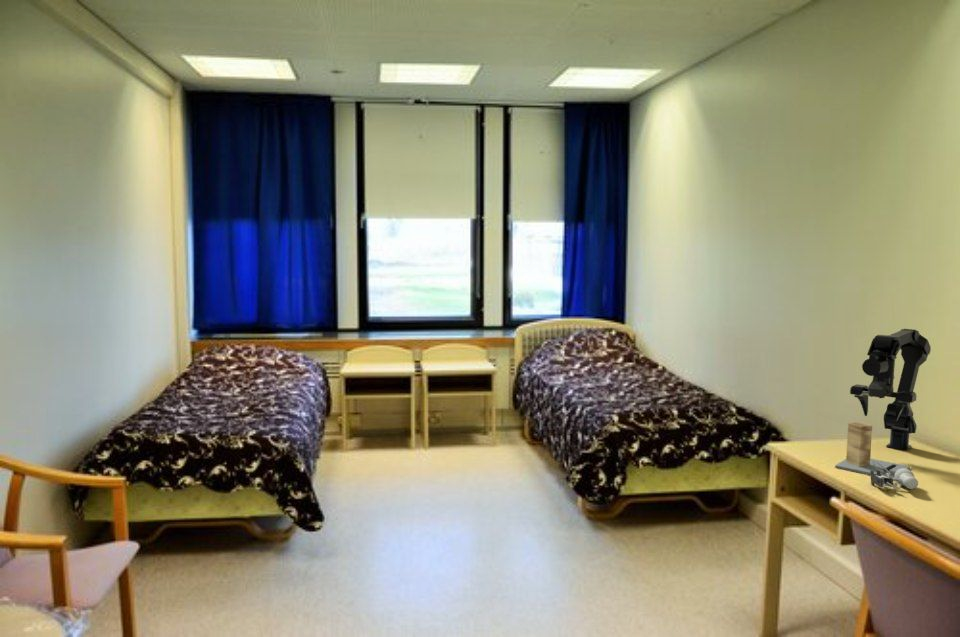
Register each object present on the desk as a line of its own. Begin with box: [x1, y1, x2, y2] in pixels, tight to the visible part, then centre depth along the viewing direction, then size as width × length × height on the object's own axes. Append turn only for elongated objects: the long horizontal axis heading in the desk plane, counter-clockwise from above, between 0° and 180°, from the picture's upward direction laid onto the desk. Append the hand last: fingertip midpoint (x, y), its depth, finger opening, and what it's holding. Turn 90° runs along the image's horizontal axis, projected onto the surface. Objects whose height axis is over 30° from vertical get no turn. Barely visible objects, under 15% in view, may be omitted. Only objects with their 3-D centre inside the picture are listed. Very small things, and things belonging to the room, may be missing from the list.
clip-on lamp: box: [870, 460, 919, 491], centre depth 208 cm, size 12×6×18 cm
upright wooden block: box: [845, 421, 873, 467], centre depth 224 cm, size 5×5×13 cm
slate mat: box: [834, 457, 911, 478], centre depth 223 cm, size 16×17×1 cm
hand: (880, 418), depth 235 cm, fingers open, 9 cm apart
